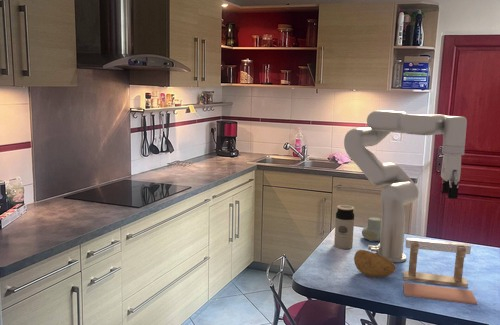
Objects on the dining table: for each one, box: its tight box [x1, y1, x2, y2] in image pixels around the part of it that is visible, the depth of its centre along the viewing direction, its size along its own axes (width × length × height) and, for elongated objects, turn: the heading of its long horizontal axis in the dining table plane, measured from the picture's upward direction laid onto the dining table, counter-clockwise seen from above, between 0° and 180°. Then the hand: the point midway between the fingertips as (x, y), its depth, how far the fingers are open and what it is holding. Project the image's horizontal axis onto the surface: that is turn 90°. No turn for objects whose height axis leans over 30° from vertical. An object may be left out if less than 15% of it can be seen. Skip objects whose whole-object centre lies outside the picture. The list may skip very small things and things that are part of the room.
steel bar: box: [405, 237, 472, 255], centre depth 176 cm, size 22×3×3 cm, turn 76°
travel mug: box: [333, 204, 355, 250], centre depth 212 cm, size 8×8×18 cm
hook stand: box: [402, 242, 469, 288], centre depth 177 cm, size 22×6×14 cm, turn 76°
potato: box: [353, 249, 397, 278], centre depth 180 cm, size 9×16×9 cm, turn 53°
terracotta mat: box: [402, 282, 478, 305], centre depth 166 cm, size 23×10×1 cm, turn 76°
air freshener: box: [361, 216, 381, 242], centre depth 223 cm, size 11×8×10 cm
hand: (449, 195), depth 178 cm, fingers open, 9 cm apart
